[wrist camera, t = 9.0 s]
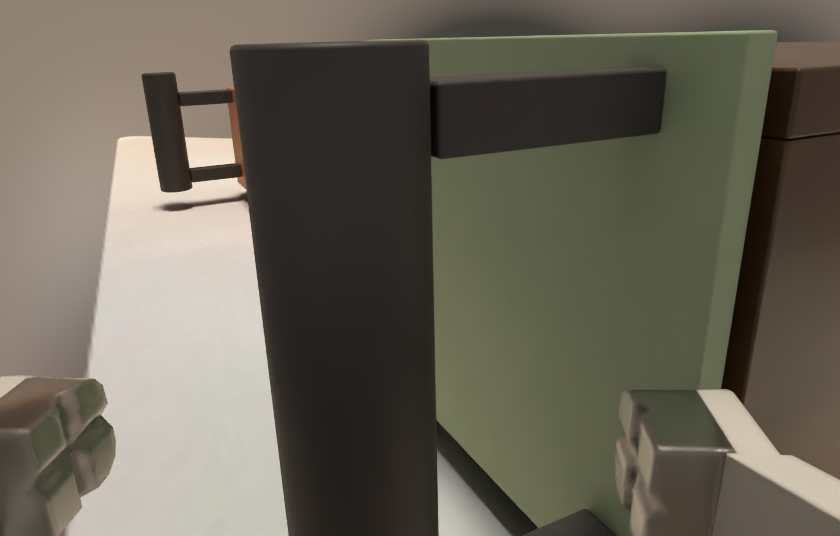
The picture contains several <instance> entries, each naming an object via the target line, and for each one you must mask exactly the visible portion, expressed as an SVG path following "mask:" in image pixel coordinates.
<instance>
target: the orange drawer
mask: <svg viewBox="0 0 840 536" xmlns="http://www.w3.org/2000/svg"><path fill="white" fill-rule="evenodd" d="M142 81H143V87H144V93H145V99H146V104H147V110H148V117H149V122H150V128H151V133H152V140H153V146H154V152H155V158H156V164H157V170H158V176H159V181H160V187H161V191H163V192H181V191H186V190H189V189H191V188H192V182H200V181H209V180H218V179H226V178H235V177H237V178H238V183H240V184H241V185H242V186H243V187H244V188H245V189H246V181H245V172H244V164H243V156H242V148H241V140H240V131H239V123H238V115H237V107H236V99H235V90H234V87H226V90H210V91H192V92H178V89H177V83H176V77H175V73H173V72H163V73H146V74H142ZM222 103H228V107H229V115H230V123H231V131H232V139H233V147H234V154H235V162H236V163H235V164H225V165H216V166H206V167H197V168H189V162H188V155H187V149H186V142H185V135H184V129H183V123H182V116H181V109H180V106H191V105H207V104H222ZM191 181H192V182H191ZM246 190H247V189H246Z"/></svg>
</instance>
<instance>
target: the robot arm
mask: <svg viewBox="0 0 840 536" xmlns="http://www.w3.org/2000/svg"><path fill="white" fill-rule="evenodd" d="M107 404H108V403H107V399H106V396H105V392H104V388H103V385H102V384H100V383H99V382H98V381H96V380H95V379H87V378H61V377H33V376H3V377H0V536H59V535H60V533H61V532H62V531H63V530H64V529H65V527H66V526H67V525H68V524H69V523H70V521H71V520H72V519H73V518H74V517H75V515H76V514H77V513H78V512H79V511H80V509H81V508H82V504H81V497H82V496H83V495H85V494H87V493H89V492H91V491H93V490H94V489H96V488H98V487H99V486H100V485H101V484H102V482H103V481H104V480H105V479H106V477H107V476H108V475H109V473H110V470H111V467H112V464H113V461H114V458H115V449H116V440H115V435H114V430H113V427H112V426H111V425H110V424H109V423H108V422H107V421H106V420H105V419H104V418H103V417H102V416H101V414H102V413H103V411H104V409H105V407H106V405H107ZM619 418H620V420H621V423H622V426H623V428H624V431H625V432H624V433H623V434H622V435H621V436H620V437H619V438H618V439H617V440H616V447H615V479H616V484H617V490H618V494H619V497H620V501H621V504H622V505H623V506H624V507H625V508H626V509H628V510H629V511H630V512H631V514H630V524H629V529H630V532H631V535H632V536H840V480H839V479H837V478H835V477H833V476H831V475H829V474H827V473H826V472H824V471H822V470H820V469H818V468H816V467H814V466H812V465H810V464H808V463H806V462H804V461H802V460H800V459H798V458H797V457H795V456H793V455H780V453H779V452H778V451H777V449H776V448H775V447H774V445H773V444H772V443H771V441H770V440H769V439H768V438H767V436H766V435H765V434H764V432H763V431H762V430H761V428H760V427H759V426H758V424H757V423H756V422H755V420H754V419H753V418H752V416H751V415H750V414H749V412H748V411H747V410H746V408H745V407H744V406H743V404H742V403H741V402H740V400H739V399H738V398H737V396H736V395H735V394H734V392H732V391H730V390H727V389H713V390H624V391H623V392H622V396H621V399H620V407H619Z"/></svg>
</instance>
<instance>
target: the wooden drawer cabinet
mask: <svg viewBox="0 0 840 536" xmlns="http://www.w3.org/2000/svg"><path fill="white" fill-rule="evenodd" d="M721 389H727V390H730V391H732V392H734V394H735V395H736V396H737V398H738V399H739V400H740V402H741V403H742V404H743V406H744V407H745V408H746V410H747V411H748V412H749V414H750V415H751V416H752V418H753V419H754V420H755V422H756V423H757V424H758V426H759V427H760V428H761V430H762V431H763V432H764V434H765V435H766V436H767V438H768V439H769V440H770V441H771V443H772V444H773V445H774V447H775V448H776V449H777V451H778V452H779V453H780V455H793V456H795V457H797V458H798V459H800V460H802V461H804V462H806V463H808V464H810V465H812V466H814V467H816V468H818V469H820V470H822V471H824V472H826V473H827V474H829V475H831V476H833V477H835V478H837V479H839V480H840V42H776V46H775V52H774V59H773V65H772V71H771V77H770V84H769V90H768V96H767V103H766V109H765V115H764V122H763V128H762V134H761V140H760V147H759V153H758V159H757V166H756V172H755V178H754V184H753V191H752V197H751V203H750V210H749V216H748V222H747V229H746V235H745V241H744V247H743V254H742V260H741V266H740V273H739V279H738V285H737V291H736V298H735V304H734V310H733V317H732V323H731V329H730V335H729V342H728V348H727V354H726V361H725V367H724V373H723V380H722V386H721Z"/></svg>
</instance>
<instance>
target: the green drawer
mask: <svg viewBox="0 0 840 536" xmlns="http://www.w3.org/2000/svg"><path fill="white" fill-rule="evenodd" d="M776 40H777V32H776V31H775V30H760V31H721V32H720V31H718V32H677V33H636V34H596V35H554V36H513V37H473V38H433V39H392V40H391V39H390V40H366V41H351V42H313V43H277V44H246V45H234V46H232V47H231V49H230V57H231V66H232V74H233V82H234V90H235V99H236V107H237V115H238V123H239V131H240V140H241V148H242V156H243V164H244V172H245V181H246V189H247V197H248V205H249V213H250V222H251V230H252V238H253V246H254V254H255V263H256V271H257V279H258V287H259V295H260V304H261V312H262V320H263V328H264V336H265V345H266V353H267V361H268V369H269V377H270V386H271V394H272V402H273V410H274V418H275V427H276V435H277V443H278V451H279V460H280V468H281V476H282V484H283V492H284V501H285V509H286V517H287V525H288V533H289V536H438V485H437V433H436V420H437V421H438V422H439V423H440V424H441V425H442V426H443V427H444V429H445V430H446V431H447V432H448V433H449V434H450V435H451V436H452V437H453V438H454V439H455V440H456V441H457V442H458V443H459V444H460V445H461V447H462V448H463V449H464V450H465V451H466V452H467V453H468V454H469V455H470V456H471V457H472V458H473V459H474V460H475V461H476V462H477V463H478V465H479V466H480V467H481V468H482V469H483V470H484V471H485V472H486V473H487V474H488V475H489V476H490V477H491V478H492V479H493V480H494V481H495V483H496V484H497V485H498V486H499V487H500V488H501V489H502V490H503V491H504V492H505V493H506V494H507V495H508V496H509V497H510V498H511V499H512V501H513V502H514V503H515V504H516V505H517V506H518V507H519V508H520V509H521V510H522V511H523V512H524V513H525V514H526V515H527V516H528V517H529V519H530V520H531V521H532V522H533V523H534V524H535V525H536V526H537V527H538V529H535V530H533V531H531V532H528V533H526V534H524V535H521V536H632V535H631V532H630V529H629V524H630V514H631V512H630V511H629V510H628V509H626V508H625V507H624V506H623V505H622V504H621V501H620V497H619V494H618V490H617V484H616V479H615V447H616V440H617V439H618V438H619V437H620V436H621V435H622V434H623V433H624V432H625V431H624V428H623V426H622V423H621V420H620V418H619V407H620V399H621V396H622V392H623V391H624V390H713V389H721V386H722V380H723V373H724V367H725V361H726V354H727V348H728V342H729V335H730V329H731V323H732V317H733V310H734V304H735V298H736V291H737V285H738V279H739V273H740V266H741V260H742V254H743V247H744V241H745V235H746V229H747V222H748V216H749V210H750V203H751V197H752V191H753V184H754V178H755V172H756V166H757V159H758V153H759V147H760V140H761V134H762V128H763V122H764V115H765V109H766V103H767V96H768V90H769V84H770V77H771V71H772V65H773V59H774V52H775V46H776Z"/></svg>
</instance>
